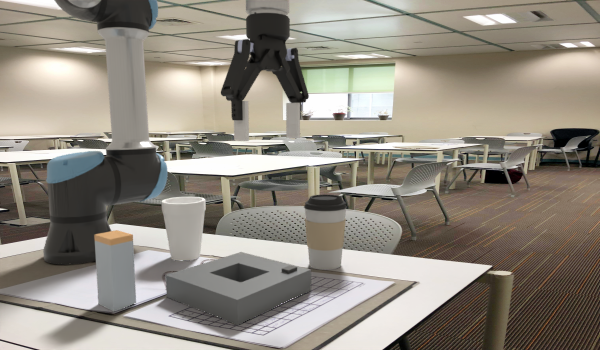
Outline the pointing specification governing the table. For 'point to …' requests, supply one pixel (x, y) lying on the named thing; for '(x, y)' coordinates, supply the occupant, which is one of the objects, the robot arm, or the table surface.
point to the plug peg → (115, 269)
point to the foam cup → (184, 226)
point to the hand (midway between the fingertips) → (268, 139)
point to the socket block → (238, 286)
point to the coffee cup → (325, 230)
